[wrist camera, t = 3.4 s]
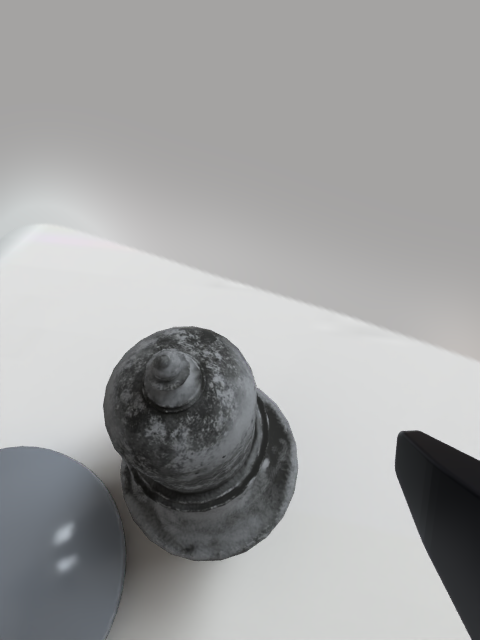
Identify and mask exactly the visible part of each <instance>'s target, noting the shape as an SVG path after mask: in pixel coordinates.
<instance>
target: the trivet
mask: <svg viewBox="0 0 480 640" xmlns="http://www.w3.org/2000/svg"><path fill="white" fill-rule="evenodd" d="M125 565H126V548H125V536H124V531H123V526H122V521H121V518H120V515H119V512H118V509H117V506H116V504H115V502H114V500H113V498H112V496H111V494H110V492H109V491H108V489H107V488H106V487H105V485H104V484H103V482H102V481H101V480H100V479H99V478H98V477H97V476H96V475H95V474H94V473H93V472H92V471H91V470H90V469H89V468H87V467H86V466H85V465H83V464H82V463H80V462H78V461H76V460H74V459H73V458H71V457H68V456H66V455H64V454H61V453H58V452H55V451H53V450H50V449H44V448H39V447H24V446H21V447H10V448H4V449H0V640H106V638H107V636H108V634H109V632H110V629H111V627H112V624H113V621H114V619H115V616H116V613H117V610H118V606H119V602H120V599H121V595H122V590H123V584H124V577H125Z"/></svg>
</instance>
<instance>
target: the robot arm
mask: <svg viewBox="0 0 480 640" xmlns="http://www.w3.org/2000/svg"><path fill="white" fill-rule="evenodd" d="M395 471H396V475H397V478H398V480H399V483H400V486H401V488H402V491H403V493H404V496H405V499H406V501H407V504H408V506H409V509H410V512H411V514H412V517H413V519H414V522H415V525H416V527H417V530H418V532H419V535H420V537H421V540H422V542H423V544H424V546H425V549H426V551H427V553H428V555H429V557H430V559H431V561H432V563H433V565H434V567H435V569H436V571H437V573H438V575H439V576H440V578H441V580H442V582H443V584H444V586H445V588H446V590H447V592H448V594H449V596H450V598H451V600H452V602H453V604H454V606H455V608H456V610H457V612H458V614H459V616H460V618H461V620H462V622H463V624H464V626H465V628H466V629H467V631H468V633H469V635H470V637H471V639H472V640H480V461H479V460H477V459H475V458H473V457H471V456H469V455H467V454H465V453H463V452H461V451H459V450H457V449H455V448H453V447H451V446H449V445H447V444H445V443H443V442H441V441H439V440H437V439H435V438H433V437H431V436H429V435H427V434H425V433H423V432H421V431H417V430H415V431H401V432H400V433H399V434H398V437H397V446H396V457H395Z"/></svg>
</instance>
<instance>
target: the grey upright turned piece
mask: <svg viewBox="0 0 480 640" xmlns="http://www.w3.org/2000/svg"><path fill="white" fill-rule="evenodd" d="M103 409H104V418H105V426H106V429H107V432H108V434H109V436H110V439H111V441H112V444H113V446H114V448H115V450H116V451H117V452H118V453H119V454H120V455H121V457H122V463H121V472H120V473H121V480H122V488H123V495H124V499H125V501H126V503H127V506H128V508H129V511H130V513H131V515H132V518H133V520H134V521H135V523H136V524H137V525H138V526H139V527H140V529H141V530H142V531H143V532H144V534H145V535H146V536H147V537H148V539H149V540H151V541H152V542H154V543H155V544H157V545H158V546H160V547H161V548H163V549H164V550H166V551H167V552H168V553H170V554H173V555H176V556H180V557H183V558H186V559H190V560H193V561H216V560H223V559H226V558H229V557H232V556H235V555H238V554H241V553H244V552H246V551H248V550H249V549H251V548H252V547H253V546H255V545H256V544H258V543H259V542H260V541H262V540H263V539H265V538H266V537H267V536H268V535H269V534H270V533H271V531H272V530H273V529H274V528H275V526H276V525H277V524H278V523H279V522H280V520H281V519H282V518H283V517H284V514H285V512H286V510H287V508H288V505H289V503H290V501H291V499H292V496H293V494H294V490H295V484H296V478H297V472H298V461H297V450H296V443H295V440H294V437H293V434H292V431H291V428H290V425H289V423H288V421H287V419H286V418H285V416H284V415H283V413H282V412H281V410H280V409H279V407H278V406H277V404H276V403H275V402H274V401H272V400H271V399H270V398H269V397H268V396H267V395H266V394H265V393H264V392H262V391H261V390H260V389H258V388H256V383H255V380H254V376H253V373H252V370H251V368H250V366H249V364H248V363H247V361H246V360H245V358H244V357H243V355H242V354H241V352H240V351H239V349H238V348H237V347H236V346H235V345H233V344H232V343H231V342H230V341H229V340H228V339H227V338H225V337H223V336H221V335H219V334H217V333H215V332H213V331H211V330H208V329H203V328H198V327H193V326H191V327H173V328H170V329H166V330H162V331H158V332H156V333H154V334H152V335H150V336H148V337H146V338H144V339H143V340H141V341H139V342H138V343H137V344H136V345H135V346H134V347H132V348H131V349H130V350H129V351H128V352H126V353H125V355H124V356H123V357H122V359H121V360H120V361H119V363H118V364H117V365H116V367H115V368H114V370H113V372H112V375H111V377H110V379H109V381H108V384H107V386H106V391H105V398H104V404H103Z"/></svg>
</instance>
